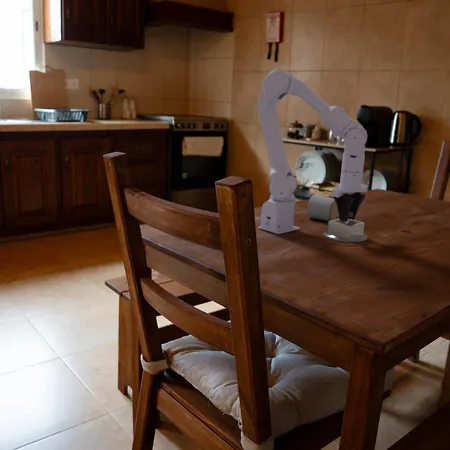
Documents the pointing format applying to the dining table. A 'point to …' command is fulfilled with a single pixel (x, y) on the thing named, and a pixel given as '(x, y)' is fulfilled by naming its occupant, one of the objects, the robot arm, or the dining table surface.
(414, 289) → the dining table surface
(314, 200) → the ceramic mug
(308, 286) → the dining table surface
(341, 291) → the dining table surface
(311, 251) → the dining table surface
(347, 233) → the press
